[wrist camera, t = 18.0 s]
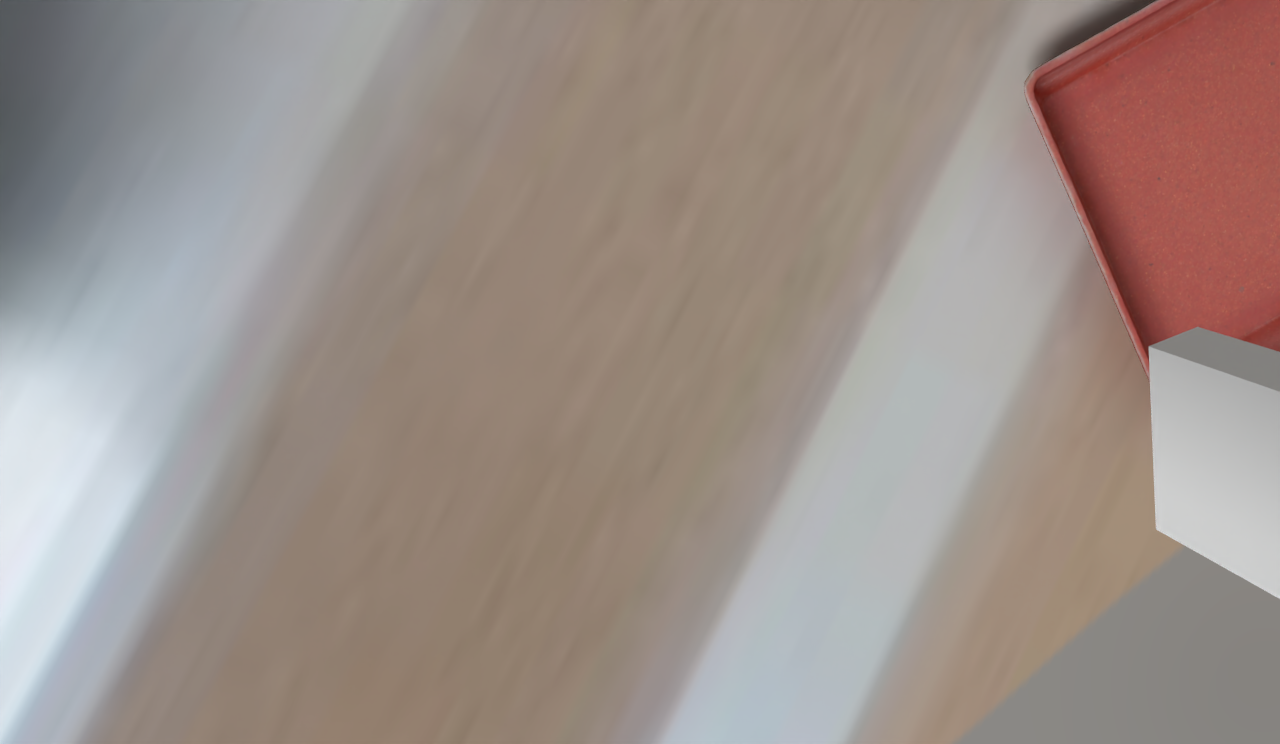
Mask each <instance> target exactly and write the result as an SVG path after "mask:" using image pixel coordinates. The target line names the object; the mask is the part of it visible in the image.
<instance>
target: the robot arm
mask: <svg viewBox="0 0 1280 744" xmlns="http://www.w3.org/2000/svg"><path fill="white" fill-rule="evenodd" d="M1149 371H1150V395H1151V419H1152V443H1153V467H1154V491H1155V515H1156V530H1158V531H1160V532H1162V533H1164V534H1165V535H1167V536H1169V537H1171V538H1172V539H1174V540H1176V541H1178V542H1180V543H1181V544H1183V545H1185V546H1187V547H1188V548H1190V549H1192V550H1194V551H1196V552H1197V553H1199V554H1201V555H1203V556H1205V557H1206V558H1208V559H1210V560H1212V561H1213V562H1215V563H1217V564H1219V565H1221V566H1222V567H1224V568H1226V569H1228V570H1229V571H1231V572H1233V573H1235V574H1237V575H1238V576H1240V577H1242V578H1244V579H1246V580H1247V581H1249V582H1251V583H1253V584H1254V585H1256V586H1258V587H1260V588H1261V589H1263V590H1265V591H1267V592H1269V593H1270V594H1272V595H1274V596H1276V597H1278V598H1280V352H1279V351H1275V350H1272V349H1269V348H1265V347H1262V346H1259V345H1256V344H1252V343H1249V342H1246V341H1242V340H1239V339H1236V338H1233V337H1229V336H1226V335H1223V334H1219V333H1216V332H1213V331H1210V330H1206V329H1203V328H1200V327H1196V328H1193V329H1191V330H1188V331H1186V332H1183V333H1181V334H1178V335H1176V336H1173V337H1171V338H1168V339H1166V340H1163V341H1161V342H1158V343H1156V344H1153V345H1151V346H1149Z"/></svg>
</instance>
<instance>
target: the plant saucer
mask: <svg viewBox="0 0 1280 744" xmlns="http://www.w3.org/2000/svg"><path fill="white" fill-rule="evenodd" d="M1024 93H1025V97H1026V101H1027V103H1028V105H1029V107H1030V110H1031V112H1032V114H1033V116H1034V119H1035V121H1036V123H1037V126H1038V128H1039V130H1040V132H1041V135H1042V137H1043V139H1044V141H1045V144H1046V146H1047V148H1048V151H1049V153H1050V155H1051V157H1052V160H1053V162H1054V164H1055V166H1056V169H1057V171H1058V173H1059V176H1060V178H1061V180H1062V182H1063V185H1064V187H1065V189H1066V191H1067V194H1068V196H1069V198H1070V201H1071V203H1072V205H1073V207H1074V210H1075V212H1076V214H1077V217H1078V219H1079V221H1080V223H1081V226H1082V228H1083V230H1084V233H1085V235H1086V237H1087V239H1088V242H1089V244H1090V246H1091V249H1092V251H1093V253H1094V255H1095V258H1096V260H1097V262H1098V265H1099V267H1100V269H1101V272H1102V274H1103V276H1104V279H1105V281H1106V283H1107V286H1108V288H1109V290H1110V293H1111V295H1112V297H1113V300H1114V302H1115V304H1116V306H1117V309H1118V311H1119V313H1120V316H1121V318H1122V320H1123V322H1124V325H1125V327H1126V329H1127V331H1128V334H1129V336H1130V338H1131V341H1132V343H1133V345H1134V348H1135V350H1136V352H1137V355H1138V357H1139V359H1140V362H1141V364H1142V366H1143V369H1144V371H1145V373H1146V375H1147V378H1148V380H1149V382H1150V371H1149V346H1151V345H1153V344H1156V343H1158V342H1161V341H1163V340H1166V339H1168V338H1171V337H1173V336H1176V335H1178V334H1181V333H1183V332H1186V331H1188V330H1191V329H1193V328H1196V327H1200V328H1203V329H1206V330H1210V331H1213V332H1216V333H1219V334H1223V335H1226V336H1229V337H1233V338H1236V339H1239V340H1242V341H1246V342H1249V343H1252V344H1256V345H1259V346H1262V347H1265V348H1269V349H1272V350H1275V351H1279V352H1280V0H1156V1H1154V2H1152V3H1151V4H1149V5H1147V6H1146V7H1144V8H1142V9H1141V10H1139V11H1137V12H1135V13H1133V14H1131V15H1130V16H1128V17H1126V18H1124V19H1123V20H1121V21H1119V22H1117V23H1116V24H1114V25H1112V26H1110V27H1109V28H1107V29H1105V30H1104V31H1102V32H1100V33H1098V34H1096V35H1094V36H1092V37H1091V38H1089V39H1087V40H1086V41H1084V42H1082V43H1080V44H1078V45H1076V46H1074V47H1073V48H1071V49H1069V50H1067V51H1065V52H1063V53H1062V54H1060V55H1058V56H1057V57H1055V58H1053V59H1051V60H1050V61H1048V62H1046V63H1044V64H1043V65H1041V66H1039V67H1038V68H1036V69H1035V70H1033V71H1032V72H1031V73H1030V75H1029V76H1028V78H1027V79H1026V81H1025V86H1024Z"/></svg>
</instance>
